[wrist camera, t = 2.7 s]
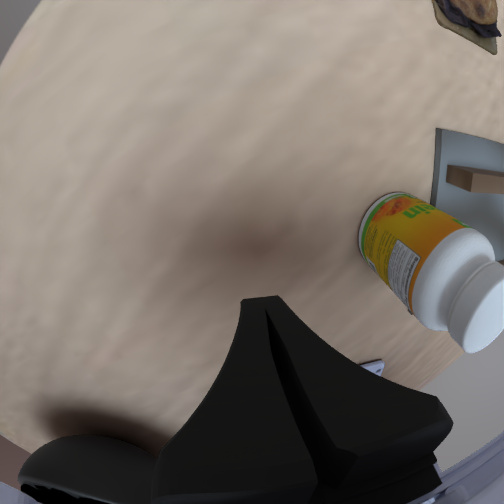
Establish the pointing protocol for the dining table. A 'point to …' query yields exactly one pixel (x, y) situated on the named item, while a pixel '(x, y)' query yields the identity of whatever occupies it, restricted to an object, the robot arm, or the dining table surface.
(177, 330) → the dining table surface
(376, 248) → the supplement bottle
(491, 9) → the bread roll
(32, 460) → the bowl of black rocks
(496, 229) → the cradle
